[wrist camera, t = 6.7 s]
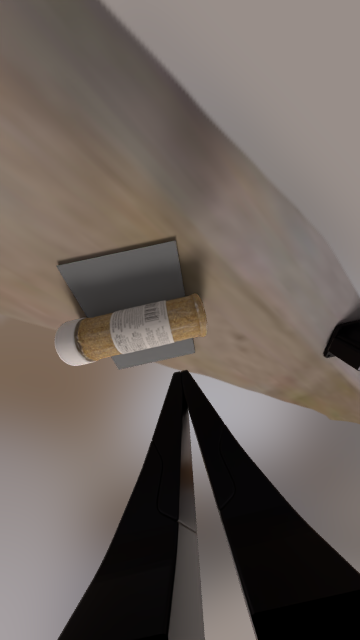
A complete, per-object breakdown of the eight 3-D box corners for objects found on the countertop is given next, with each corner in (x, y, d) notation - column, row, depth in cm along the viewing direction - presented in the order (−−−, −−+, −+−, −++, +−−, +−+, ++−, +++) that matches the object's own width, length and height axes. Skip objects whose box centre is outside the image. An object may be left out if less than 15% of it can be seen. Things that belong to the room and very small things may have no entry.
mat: (175, 240, 13) (175, 240, 12) (194, 351, 20) (194, 352, 19) (58, 265, 13) (56, 265, 12) (119, 367, 20) (118, 369, 19)
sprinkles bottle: (196, 306, 17) (89, 330, 17) (197, 282, 13) (56, 313, 13) (206, 341, 15) (86, 369, 15) (212, 326, 11) (46, 363, 11)
